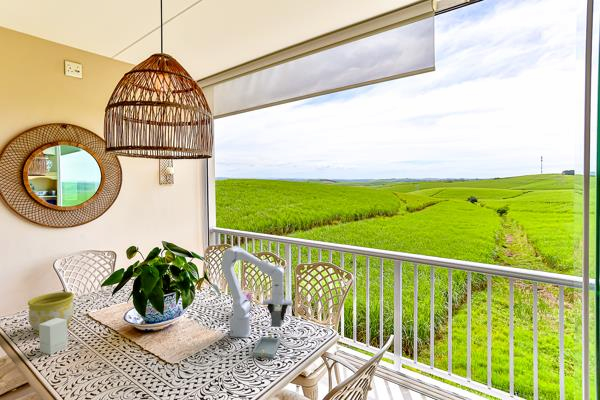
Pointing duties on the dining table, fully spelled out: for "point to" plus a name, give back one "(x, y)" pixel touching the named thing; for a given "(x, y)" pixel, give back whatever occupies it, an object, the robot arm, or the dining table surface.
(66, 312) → the flowerpot
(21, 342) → the dining table surface
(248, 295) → the box
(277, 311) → the block
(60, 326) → the supplement box
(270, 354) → the pin tray
